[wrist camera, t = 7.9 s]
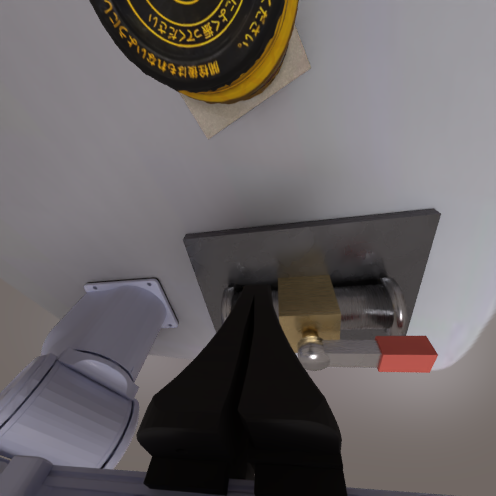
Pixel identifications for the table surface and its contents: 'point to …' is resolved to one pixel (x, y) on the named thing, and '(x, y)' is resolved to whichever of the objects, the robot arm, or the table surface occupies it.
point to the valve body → (321, 272)
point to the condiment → (210, 50)
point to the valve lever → (368, 353)
